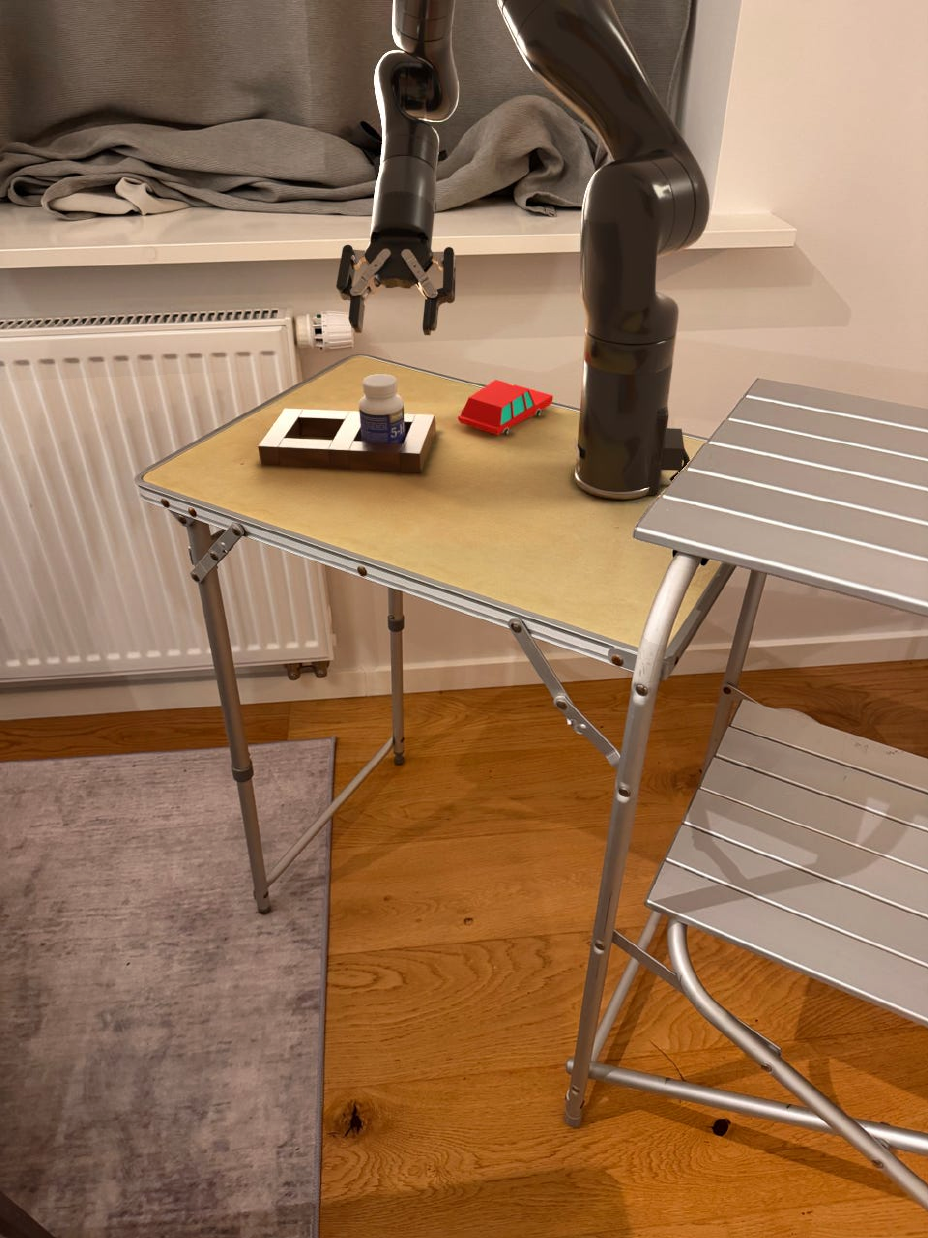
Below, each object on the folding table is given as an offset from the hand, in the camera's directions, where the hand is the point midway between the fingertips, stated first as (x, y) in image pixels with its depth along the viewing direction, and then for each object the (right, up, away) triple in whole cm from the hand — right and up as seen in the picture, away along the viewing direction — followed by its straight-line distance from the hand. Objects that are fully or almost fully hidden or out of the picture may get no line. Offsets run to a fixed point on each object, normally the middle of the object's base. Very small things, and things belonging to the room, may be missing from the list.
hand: (391, 331), depth 109 cm
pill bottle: (-1, -14, +1) cm, 14 cm away
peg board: (-5, -14, +1) cm, 15 cm away
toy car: (+14, -9, +8) cm, 18 cm away
